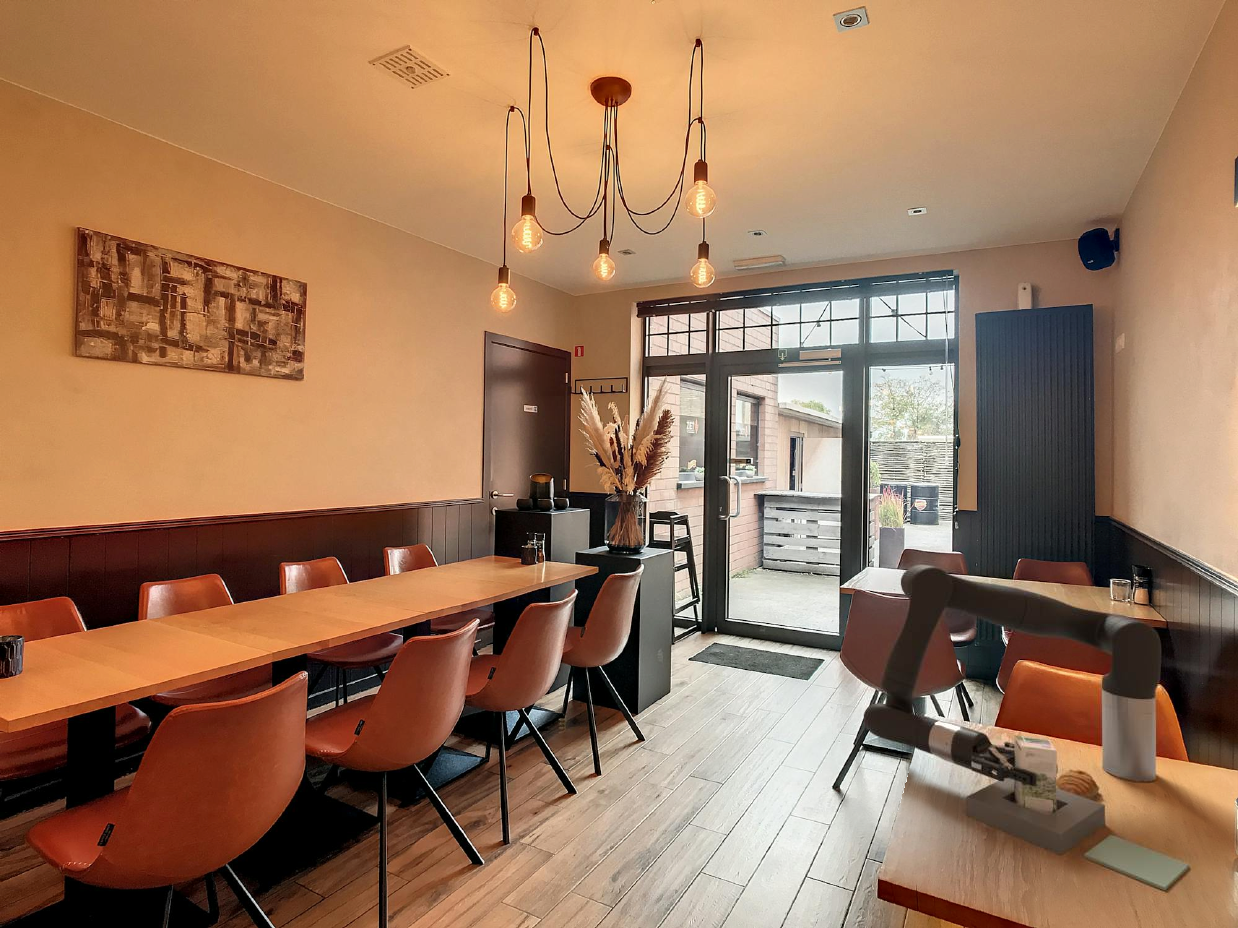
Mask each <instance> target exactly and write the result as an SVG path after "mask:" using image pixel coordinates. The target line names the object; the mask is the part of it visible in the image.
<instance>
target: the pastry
mask: <svg viewBox="0 0 1238 928" xmlns="http://www.w3.org/2000/svg"><path fill="white" fill-rule="evenodd" d="M1096 782H1097V781H1095V779H1094V778H1093V776H1092V775H1091V774H1090V773H1087V772H1086V771H1084V770H1080V769H1074V770H1073V769H1069V770H1067V771H1065V773H1061V774H1060V775H1059V776H1058V777H1057V786H1056V788H1058V789H1061V790H1064V791H1067V792H1069V793H1072V794H1075V795H1078V796H1081V797H1084V798H1087V799H1089V800H1092V799H1093V798H1094V797H1096V795H1097V794H1098V792H1100V787H1099V785H1098V784H1097V783H1096Z"/></svg>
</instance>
